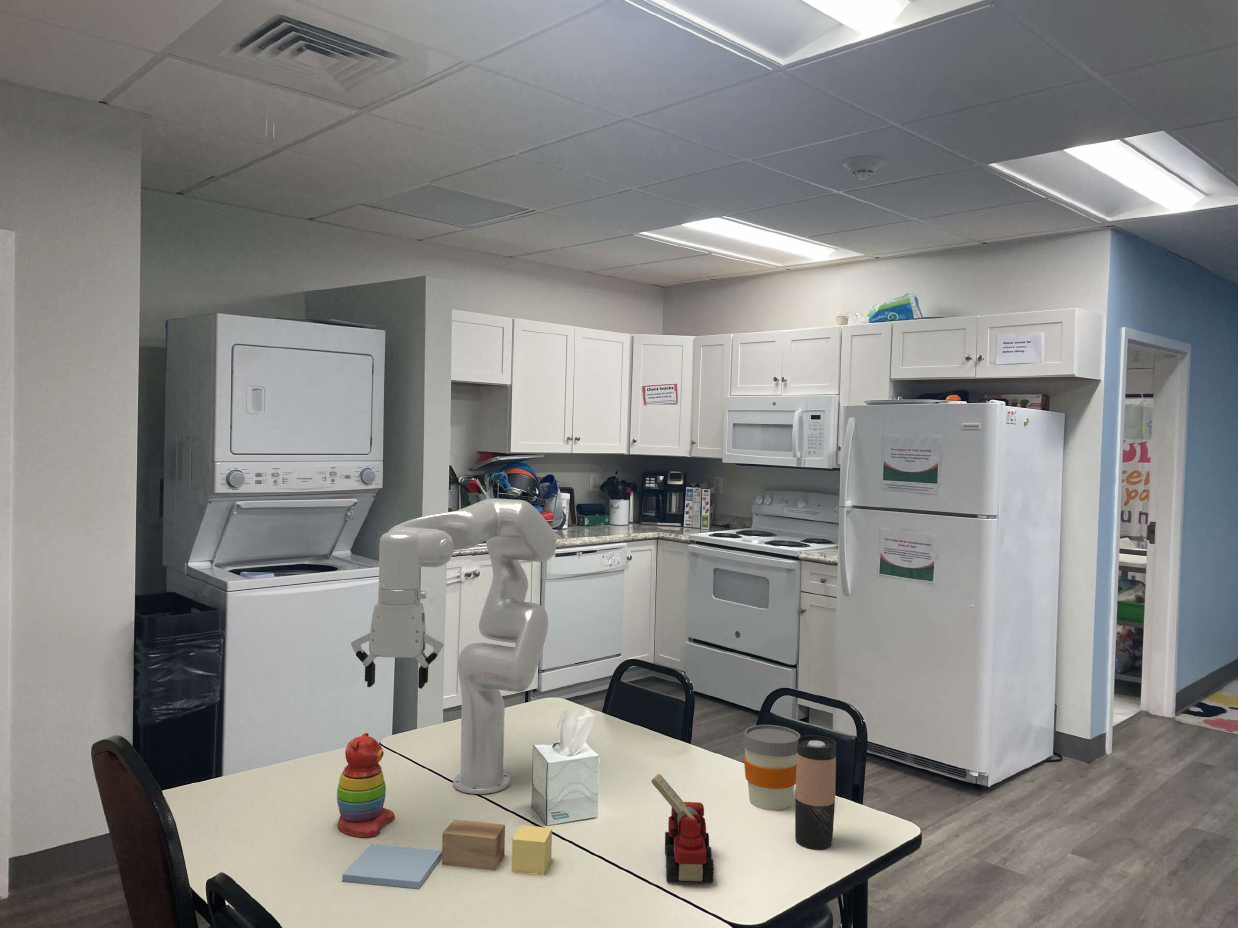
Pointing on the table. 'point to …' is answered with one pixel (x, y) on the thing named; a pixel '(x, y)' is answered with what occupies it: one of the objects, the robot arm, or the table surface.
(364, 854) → the base board
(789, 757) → the reusable coffee cup
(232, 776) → the table surface
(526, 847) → the cube brick
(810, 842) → the travel mug
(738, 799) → the table surface
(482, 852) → the long brick
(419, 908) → the table surface
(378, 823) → the stacking bear
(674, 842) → the toy fire truck
